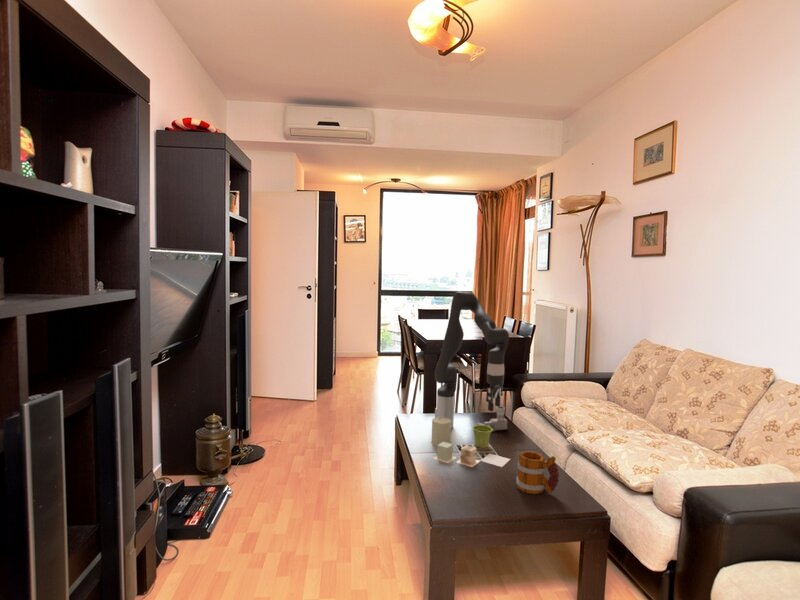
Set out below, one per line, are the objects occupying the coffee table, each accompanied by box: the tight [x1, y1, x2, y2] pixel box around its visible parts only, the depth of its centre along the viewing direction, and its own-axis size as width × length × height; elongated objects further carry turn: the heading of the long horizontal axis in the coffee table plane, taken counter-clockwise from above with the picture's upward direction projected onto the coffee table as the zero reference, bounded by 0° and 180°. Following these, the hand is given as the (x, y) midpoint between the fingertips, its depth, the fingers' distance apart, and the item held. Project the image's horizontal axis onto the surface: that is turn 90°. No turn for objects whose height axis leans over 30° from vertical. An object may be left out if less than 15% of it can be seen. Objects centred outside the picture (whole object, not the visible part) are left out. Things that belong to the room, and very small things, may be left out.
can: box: [430, 417, 451, 447], centre depth 215 cm, size 9×9×12 cm
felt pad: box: [480, 453, 511, 468], centre depth 198 cm, size 10×10×1 cm
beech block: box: [459, 444, 477, 465], centre depth 195 cm, size 5×5×6 cm
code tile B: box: [432, 455, 457, 464], centre depth 198 cm, size 8×8×1 cm
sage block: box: [436, 442, 454, 461], centre depth 198 cm, size 5×5×6 cm
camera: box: [476, 405, 508, 432], centre depth 237 cm, size 9×12×15 cm
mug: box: [515, 450, 560, 495], centre depth 172 cm, size 11×16×15 cm, turn 51°
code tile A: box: [455, 458, 481, 468], centre depth 195 cm, size 8×8×1 cm
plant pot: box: [472, 424, 493, 449], centre depth 214 cm, size 9×9×9 cm
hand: (494, 408), depth 201 cm, fingers open, 8 cm apart
